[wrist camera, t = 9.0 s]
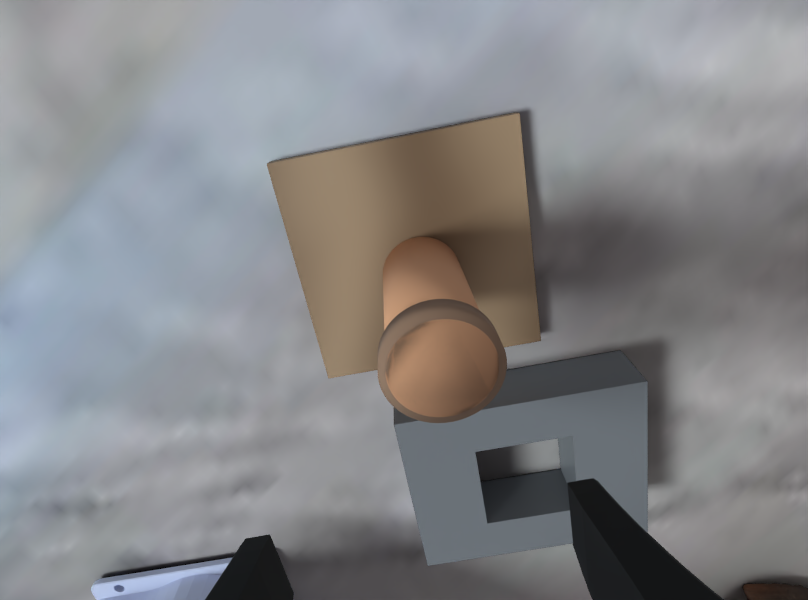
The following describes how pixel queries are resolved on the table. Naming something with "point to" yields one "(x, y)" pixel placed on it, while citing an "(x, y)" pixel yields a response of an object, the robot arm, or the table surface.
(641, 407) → the socket
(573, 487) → the robot arm
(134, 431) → the table surface
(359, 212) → the coaster
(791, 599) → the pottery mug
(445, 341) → the plug
